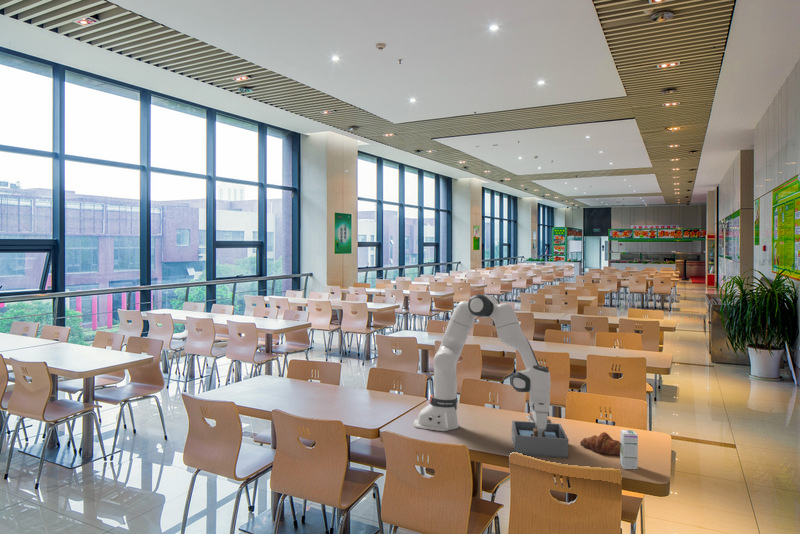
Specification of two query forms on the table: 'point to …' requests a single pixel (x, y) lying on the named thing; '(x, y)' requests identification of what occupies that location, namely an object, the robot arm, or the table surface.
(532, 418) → the packaged product
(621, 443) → the syrup box
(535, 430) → the peg
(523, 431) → the open box
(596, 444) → the pastry
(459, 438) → the table surface
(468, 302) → the robot arm
